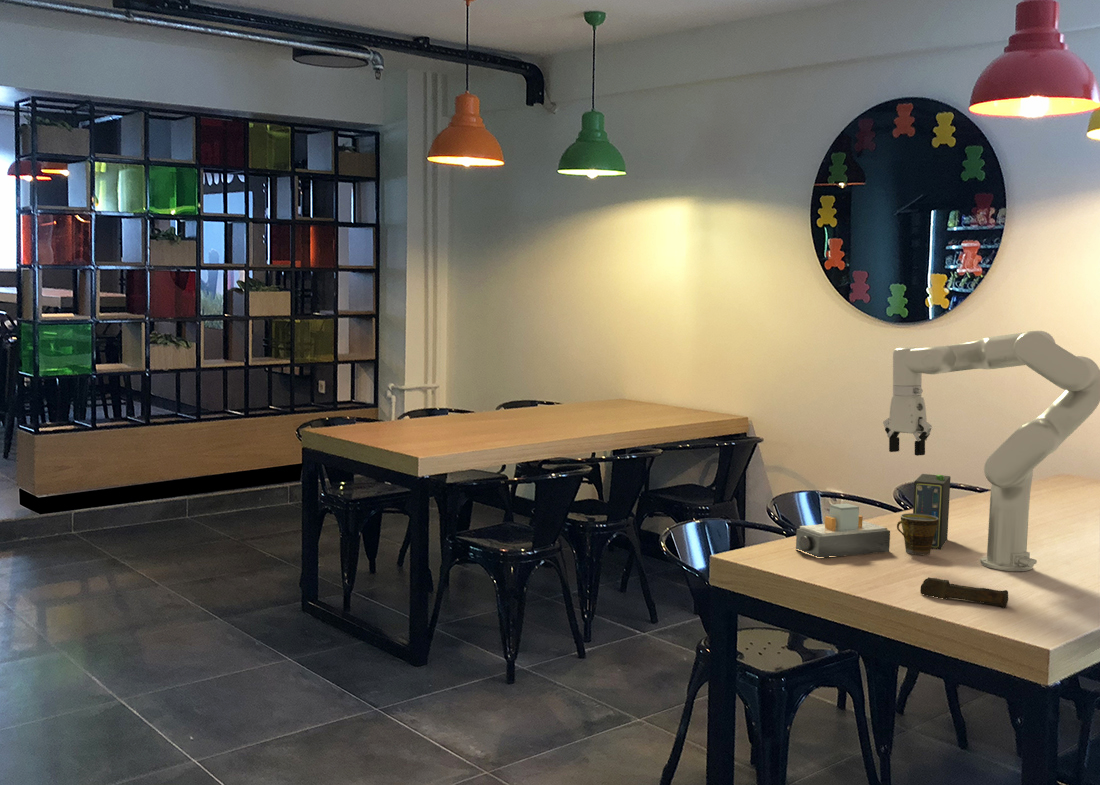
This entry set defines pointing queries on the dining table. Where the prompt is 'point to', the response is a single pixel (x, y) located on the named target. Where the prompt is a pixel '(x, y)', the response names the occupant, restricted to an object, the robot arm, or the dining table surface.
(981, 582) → the dining table surface
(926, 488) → the dark grey box
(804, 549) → the grey toaster
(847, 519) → the pale grey cube
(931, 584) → the dark brown flashlight
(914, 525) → the ceramic cup
